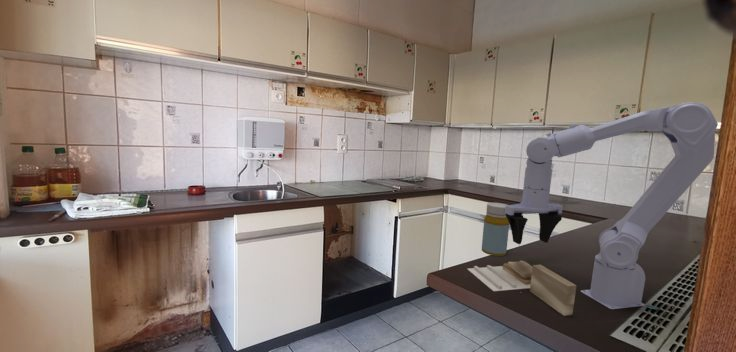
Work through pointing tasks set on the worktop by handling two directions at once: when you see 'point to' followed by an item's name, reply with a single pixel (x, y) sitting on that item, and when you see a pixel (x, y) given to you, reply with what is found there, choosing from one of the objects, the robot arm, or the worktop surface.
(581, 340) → the worktop surface
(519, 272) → the offcut stack
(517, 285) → the board
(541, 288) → the birch panel
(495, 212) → the bottle
